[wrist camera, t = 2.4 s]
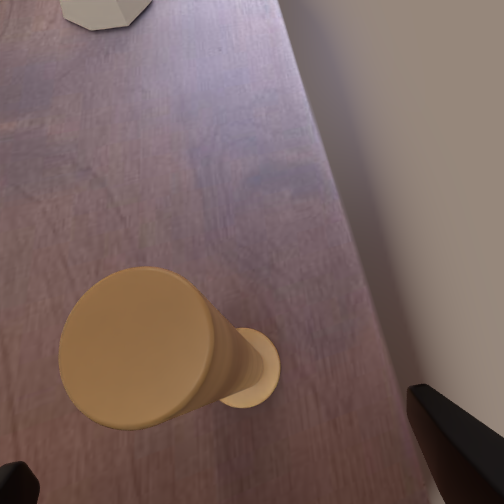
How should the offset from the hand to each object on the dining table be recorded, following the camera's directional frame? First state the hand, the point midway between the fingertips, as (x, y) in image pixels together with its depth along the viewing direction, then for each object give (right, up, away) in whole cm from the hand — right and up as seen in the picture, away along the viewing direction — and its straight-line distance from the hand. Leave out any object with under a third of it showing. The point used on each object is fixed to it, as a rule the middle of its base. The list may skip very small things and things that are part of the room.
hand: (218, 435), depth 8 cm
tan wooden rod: (0, -2, +10) cm, 10 cm away
